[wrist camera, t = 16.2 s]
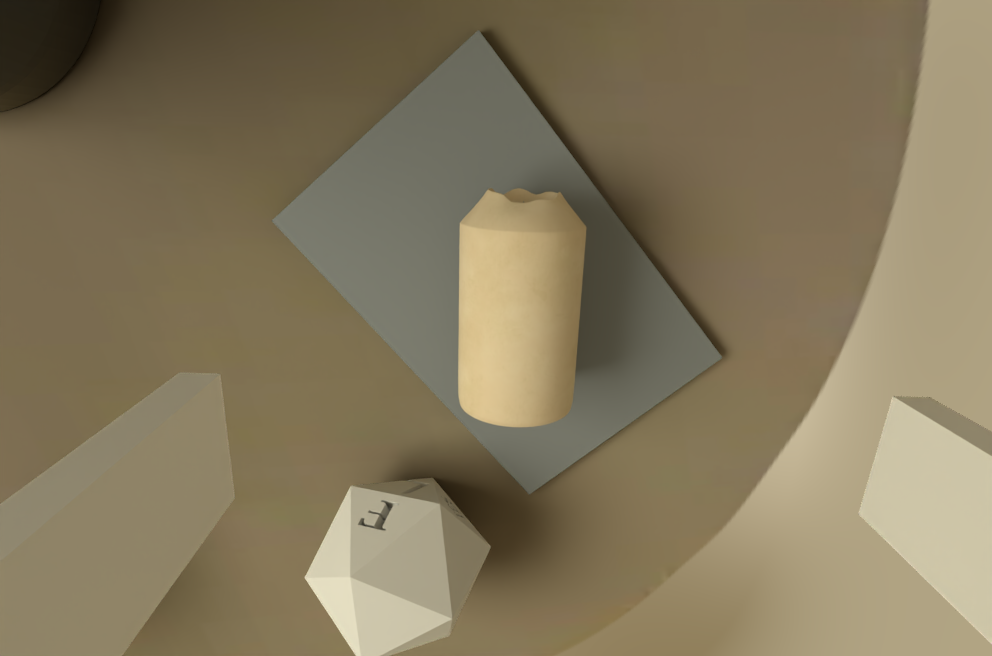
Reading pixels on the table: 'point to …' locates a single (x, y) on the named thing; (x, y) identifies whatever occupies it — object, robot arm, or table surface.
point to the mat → (435, 256)
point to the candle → (519, 307)
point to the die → (396, 566)
